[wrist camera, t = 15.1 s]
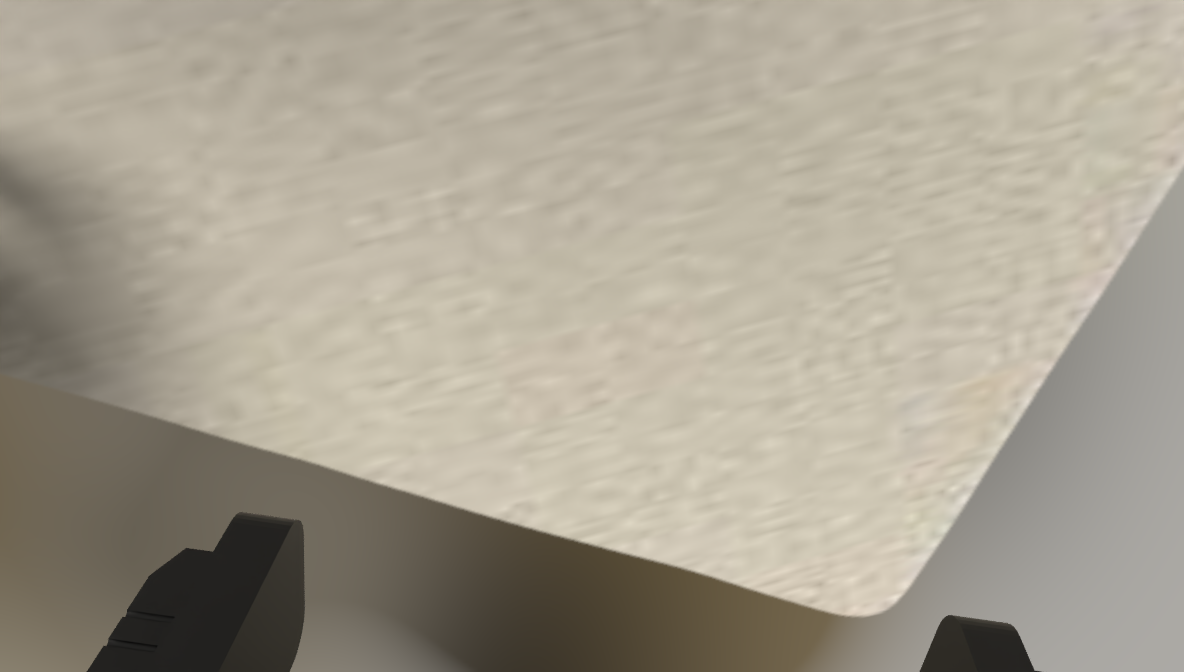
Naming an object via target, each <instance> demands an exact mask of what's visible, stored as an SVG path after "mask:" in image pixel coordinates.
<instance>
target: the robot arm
mask: <svg viewBox="0 0 1184 672" xmlns="http://www.w3.org/2000/svg"><path fill="white" fill-rule="evenodd" d="M304 605H305V601H304V534H303V525H302V523H301V521H299V520H294V519H287V518H279V517H273V516H266V515H258V514H251V513H244V512H240V513H238V514H237V515H236V516H235V517H234V518H233V520H232V521H231V523H230V524H229V526H228V528H227V529H226V531H225V533H224V534H223V536H222V538H221V539H220V541H219V543H218V545H217V546H216V548H215V550H214V551H213V552H210V551H204V550H197V549H189V548H186V549H185V550H183V551H182V552H180V553H179V554H178V555H176V556H175V557H174V558H172V559H171V560H170V561H168V562H167V563H166V564H164V565H163V566H162V567H160V568H159V569H158V570H156V571H155V572H154V573H152V574H151V575H150V576H149V577H148V579H147V580H146V582H145V583H144V585H143V587H142V588H141V589H140V591H139V593H138V594H137V596H136V597H135V599H134V600H133V602H132V603H131V605H130V606H129V608H128V609H127V614H126V617H122V619H121V620H120V622H119V623H118V625H117V626H116V628H115V629H114V631H113V633H112V634H111V636H110V637H109V640H108V644H107V646H103V648H102V649H101V651H100V652H99V654H98V655H97V657H96V658H95V660H94V661H93V663H92V665H91V666H90V668H89V669H88V671H87V672H290V669H291V667H292V664H293V662H294V660H295V657H296V654H297V650H298V647H299V643H300V639H301V634H302V629H303V622H304V610H305V607H304ZM920 672H1040V671H1034V668H1033V666H1032V664H1031V662H1030V659H1029V657H1028V654H1027V652H1026V650H1025V648H1024V645H1023V643H1022V640H1021V638H1020V636H1019V634H1018V632H1017V630H1016V629H1015V628H1014V627H1013V626H1012V625H1011V624H1008V623H1002V622H995V621H988V620H981V619H974V618H966V617H960V616H953V615H948V616H946V617H945V618H944V619H943V620H942V621H941V623H940V625H939V627H938V629H937V631H936V634H935V636H934V639H933V641H932V643H931V646H930V648H929V651H928V653H927V655H926V658H925V660H924V663H923V665H922V667H921V670H920Z"/></svg>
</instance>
